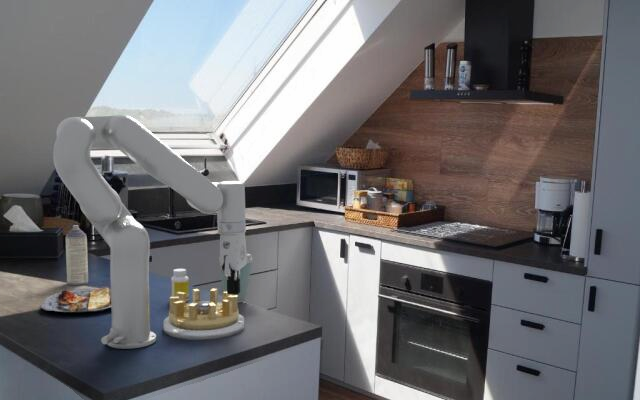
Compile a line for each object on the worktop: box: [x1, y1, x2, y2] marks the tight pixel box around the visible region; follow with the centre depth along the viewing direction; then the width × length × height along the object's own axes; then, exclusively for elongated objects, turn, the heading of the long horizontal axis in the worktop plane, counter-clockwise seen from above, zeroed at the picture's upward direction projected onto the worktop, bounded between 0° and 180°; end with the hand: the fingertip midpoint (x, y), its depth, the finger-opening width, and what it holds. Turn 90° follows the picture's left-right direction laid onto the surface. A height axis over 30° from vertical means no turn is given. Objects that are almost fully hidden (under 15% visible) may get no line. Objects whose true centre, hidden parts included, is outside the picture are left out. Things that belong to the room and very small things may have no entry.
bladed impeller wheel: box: [168, 288, 240, 330], centre depth 198 cm, size 19×19×6 cm
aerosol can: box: [65, 224, 89, 286], centre depth 245 cm, size 7×7×20 cm
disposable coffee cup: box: [218, 253, 254, 304], centre depth 225 cm, size 11×11×15 cm
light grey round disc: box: [163, 313, 245, 341], centre depth 198 cm, size 22×22×2 cm
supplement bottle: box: [170, 268, 190, 302], centre depth 225 cm, size 5×5×10 cm
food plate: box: [40, 286, 111, 314], centre depth 219 cm, size 25×23×4 cm
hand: (233, 293), depth 196 cm, fingers closed
